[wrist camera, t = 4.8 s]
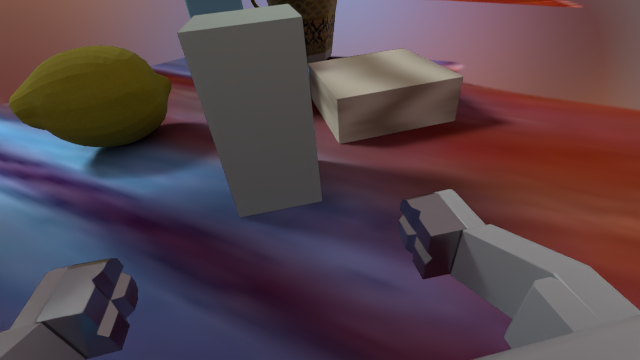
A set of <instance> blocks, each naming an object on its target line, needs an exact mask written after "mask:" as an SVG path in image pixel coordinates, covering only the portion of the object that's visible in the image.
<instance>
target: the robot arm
mask: <svg viewBox="0 0 640 360" xmlns="http://www.w3.org/2000/svg"><path fill="white" fill-rule="evenodd" d="M400 210H401V212H402V213H403V216H402V217H401V218H400V219H399V227H398V228H399V234H400V238H401V241H402V243H403V245H404V247H405V249H406V250H408V251H409V252H411V253H413V263H414V265H415V266H416V268H417V270H418V272H419V273H420V275H421V277H422V279H427V278H432V277H437V276H441V275H446V274H451V276H452V277H454V278H455V279H457V280H458V281H459V282H461V283H462V284H464V285H465V286H467V287H468V288H469V289H471V290H472V291H474V292H475V293H477V294H478V295H479V296H481V297H482V298H484V299H485V300H486V301H488V302H489V303H491V304H492V305H494V306H495V307H496V308H498V309H499V310H501V311H502V312H504V313H505V314H506V315H508V316H509V317H511V318H512V319H513V320H512V322H511V324H510V325H509V327H508V329H507V331H506V333H505V337H504V338H505V340H506V341H507V343H508V344H509V346H510V347H511V348H512V349H510V350H506V351H503V352H499V353H495V354H491V355H488V356H484V357H480V358H477V359H473V360H640V311H639V310H638V309H637V308H636V307H635V306H634V305H633V304H632V303H630V302H629V301H628V300H627V299H626V298H625V297H624V296H623V295H621V294H620V293H619V292H618V291H617V290H616V289H615V288H613V287H612V286H611V285H610V284H609V283H608V282H607V281H606V280H604V279H603V278H602V277H601V276H600V275H599V274H598V273H596V272H595V271H594V270H593V269H592V268H591V267H590V266H588V265H585V264H583V263H581V262H578V261H576V260H574V259H571V258H569V257H567V256H564V255H562V254H560V253H557V252H555V251H553V250H550V249H548V248H546V247H543V246H541V245H539V244H536V243H534V242H532V241H529V240H527V239H525V238H522V237H520V236H518V235H515V234H513V233H511V232H508V231H506V230H504V229H501V228H499V227H497V226H494V225H492V224H489V225H486V224H485V223H484V222H483V221H482V220H481V219H480V218H479V217H478V216H477V215H476V214H475V213H474V212H473V210H472V209H471V208H470V207H469V206H468V205H467V204H466V203H465V202H464V201H463V200H462V199H461V198H460V197H459V195H458V194H457V193H456V192H455V191H454V190H451V189H448V190H443V191H439V192H434V193H430V194H425V195H420V196H416V197H411V198H406V199H403V200H402V201H401V205H400ZM123 267H124V266H123V265H122V263H121V262H120V261H119V260H118V259H117V258H110V259H104V260H98V261H93V262H87V263H82V264H76V265H72V266H67V267H62V268H56V269H52V270H50V271H49V272H47V273H46V274H45V275H44V277H43V278H42V280H41V282H40V283H39V285H38V286H37V288H36V289H35V291H34V292H33V294H32V295H31V297H30V298H29V300H28V302H27V303H26V305H25V306H24V308H23V309H22V311H21V312H20V314H19V315H18V317H17V318H16V320H15V321H14V323H13V325H12V326H11V328H10V329H9V330H4V331H2V332H0V360H86V359H89V358H92V357H96V356H100V355H104V354H108V353H112V352H115V351H119V350H122V348H123V345H124V342H125V339H126V336H127V332H128V329H129V326H130V324H129V322H128V321H127V319H126V318H127V317H128V316H129V315H130V314H131V313H132V312H133V311H134V310H135V307H136V304H137V300H138V288H137V285H136V283H135V281H134V279H133V278H132V276H130V275H127V274H125V273H122V269H123Z"/></svg>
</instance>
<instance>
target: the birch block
mask: <svg viewBox="0 0 640 360" xmlns="http://www.w3.org/2000/svg"><path fill="white" fill-rule="evenodd" d="M308 67H309V76H310V85H311V95H312V100H313V102H314V103H315V105H316V107H317V108H318V110H319V112H320V113H321V115H322V116H323V118H324V120H325V121H326V123H327V125H328V126H329V128H330V129H331V131H332V133H333V134H334V136H335V138H336V139H337V141H338V143H339V144H342V143H347V142H352V141H357V140H362V139H367V138H372V137H377V136H382V135H387V134H392V133H396V132H401V131H406V130H411V129H416V128H421V127H426V126H431V125H436V124H441V123H446V122H451V121H455V118H456V113H457V107H458V102H459V97H460V92H461V87H462V82H463V76H461V75H459V74H457V73H455V72H453V71H451V70H449V69H447V68H444V67H442V66H440V65H438V64H436V63H434V62H432V61H430V60H428V59H425V58H423V57H421V56H419V55H417V54H415V53H413V52H411V51H408V50H406V49H404V48H402V49H395V50H389V51H382V52H377V53H370V54H364V55H357V56H351V57H345V58H339V59H332V60H326V61H320V62H314V63H308Z"/></svg>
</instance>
